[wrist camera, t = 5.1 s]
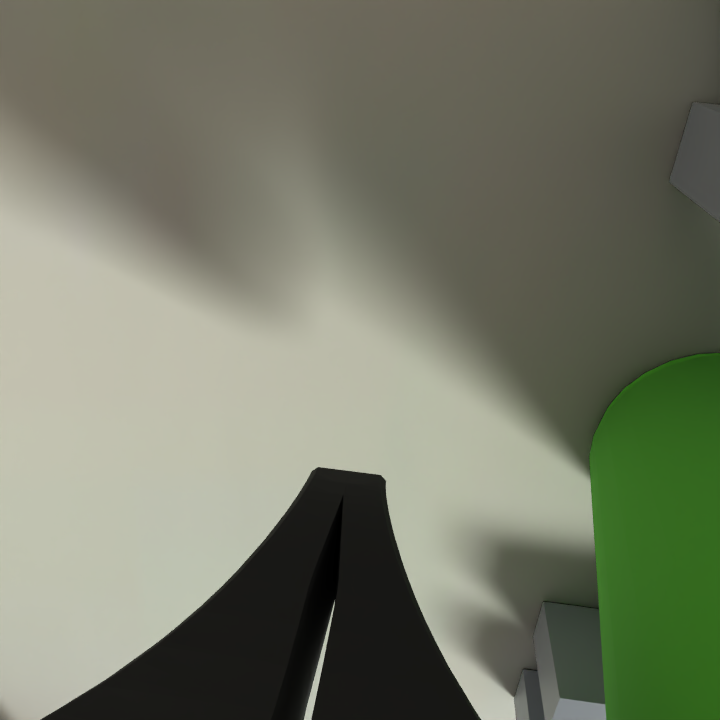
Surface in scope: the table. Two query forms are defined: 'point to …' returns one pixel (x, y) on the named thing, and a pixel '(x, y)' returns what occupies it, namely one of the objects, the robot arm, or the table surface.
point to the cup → (660, 543)
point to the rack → (581, 624)
